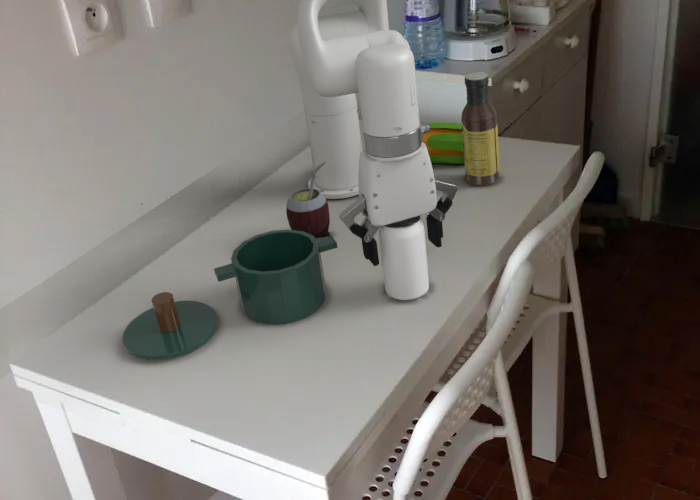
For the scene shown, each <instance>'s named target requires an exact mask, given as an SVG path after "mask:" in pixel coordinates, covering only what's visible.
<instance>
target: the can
mask: <svg viewBox="0 0 700 500" xmlns="http://www.w3.org/2000/svg"><path fill="white" fill-rule="evenodd" d="M421 219H422V218H421V215H420V216H417V217H413V218H410V219H406V220H403V221H399V222H396V223H392V224H388V225H384V226H380V227H379V229H378V239H379V247H380V255H381V265H382V273H383V274H382V275H383V282H384V288H385V289H384V290H385V293H386V294H387V295H388V296H389V297H390V298H391V299H394V300H395V301H402V302H409V301H415V300H418V299H420V298H422V297H423V296H425V295H426V294H427V292H428V291H429V290H430V289H429V288H430V287H429V286H430V280H429V268H428V255H427V245H426V231H425V224H424V222H423V221H422V220H421Z"/></svg>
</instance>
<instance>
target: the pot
mask: <svg viewBox="0 0 700 500" xmlns="http://www.w3.org/2000/svg"><path fill="white" fill-rule="evenodd" d="M337 248H338V242H337V240H336V239H335V237H333V236H332V235H330V236H328V237H320V238H315V237H314V236H313V235H310V234H308V233H306V232H304V231H296V230H291V229H279V230H278V229H277V230H269V231H266V232H263V233H260V234H255V235H254V236H251V237H250V238H248V239H246V240H244V241H242V242H241V243H240V244H239V245H238V246H237V247H236V248H235V249H234V250H233V251H232V255H231V258H230V261H231V263H228V264H225V265H222V266H218V267H214V268H213V271H214V275H215V277H216V279H217V282H223V281H226V280H229V279H230V280H231V279H235V284H236V287H237V292H238V297H239V301H240V306H241V307H242V310H243V313H244V314H245V316H246V317H247V318H248V319H250V320H252V321H254V322H256V323H260V324H264V325H285V324H291V323H294V322H298V321H300V320H302V319H306V318H308V317H310V316H311V315H313V314H315V313H316V312H317V311H319V309H320V308H321V307H323V305H324V303H325V301H326V299H327V286H326V285H327V284H326V280H325V279H326V278H325V272H324V266H323V260H322V254H321V253H324V252H328V251H331V250H333V249H334V250H335V249H337Z"/></svg>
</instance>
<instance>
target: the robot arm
mask: <svg viewBox="0 0 700 500" xmlns="http://www.w3.org/2000/svg"><path fill="white" fill-rule="evenodd" d="M292 1H293V4H294V5H295V6H296V8H298V10H297V19H296V24H295V25H294V26H293V27H292V28H291V30H290V32H289V35H288V47H289V51H290V54H291V58H292V61H293V63H294V67H295V71H296V74H297V77H298V81H299V85H300V91H301V96H302V102H303V109H304V115H305V121H306V129H307V135H308V141H309V148H310V154H311V160H312V167H313V170H314V169H315V168H316V167H317V166H319V165H320V164H322V163H323V162H325V164H324V165H323V166H322V167H321V168H320V169H319V170H318V171H317V172H316V173H317V175H316V178H315V181H314V187H313V189H317V190H319V191H320V192H321V193H322V194H323V195H324V196H325V197H326V200H339V199H340V200H342V199H347V198H352V197H356V196H358V198H357V199H356V200H354V201H353V202H352V203H351V204H349V206H347V207H346V208H345V209H343V210H342V211H341V212H340V213H339V215H338V217H339V219H340V221H342V222H343V224H344V225H345V226H346V228H347V229H348V230H349V231H350V232H351V234H353V235H354V236H356V237H358V238H360V240H361V245H362V252H363V253H362V254H363V256H364V258H365V260H369V262H370V263H371V264H372V265H373V266H374V267H377V266H379V264H380V258H379V250H378V243H377V240H376V239H375V238H374V237H375V235H376V234H377V232H378V231H379V227H380V226H384V225H388V224H392V223H396V222H399V221H403V220H406V219H410V218H413V217H417V216H420V217H421V216H423V215H426V219H425V221H426V231H427V239H428V242H430V243H431V244H432V245H434V247H436V248H441V247H442V245H443V243H442V238H444V229H443V221H444V220H445V219H446V214H447V213H448V211H449V210H450V209H451V207H452V206H453V200H454V198H455V196H456V194H457V191H458V186H457V185H456V184H455V183H453V182H451V181H446V180H442V179H438V178H435V174H434V170H433V165H432V163H431V161H430V157H429V154H428V150H427V147H426V145H425V143H423V135H425V134H426V133H429V132H430V128H431V127H429V125H428V123H429V122H424V123H425V124H423V123H421V122H420V121H421V120H420V109H419V97H418V85H417V75H416V74H417V73H416V63H415V55H414V53H413V51H412V50H411V47H410V44H409V42H408V40H407V39H406V38H404V36H403V35H402V33H400V32H399V31H397V30H395V29H390V23H389V11H388V1H387V0H292ZM351 5H358V9H355V10H350V11H344V12H339V13H331V14H325V15H320V16H319V13H320V11H322V10H329V9H332V8H339V7H346V6H351ZM356 94H358V98H359V106H360V114H361V123H362V132H363V140H364V148H365V150H363V144H362V136H361V128H360V126H361V125H360V117H359V109H358V102H357V95H356ZM310 185H311V177H310V178H309V180H308V182H307V188H310ZM437 191H439V192H443V193H442V196H441V197H440V198H439V199H438V196H437V195H438V194H437ZM360 213H361V214H362V216H363V217H364V218H363V220H362V221H361V223H360V224H358V223H357V222H356V221H355V218H356V217H357V216H358V215H360Z"/></svg>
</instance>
